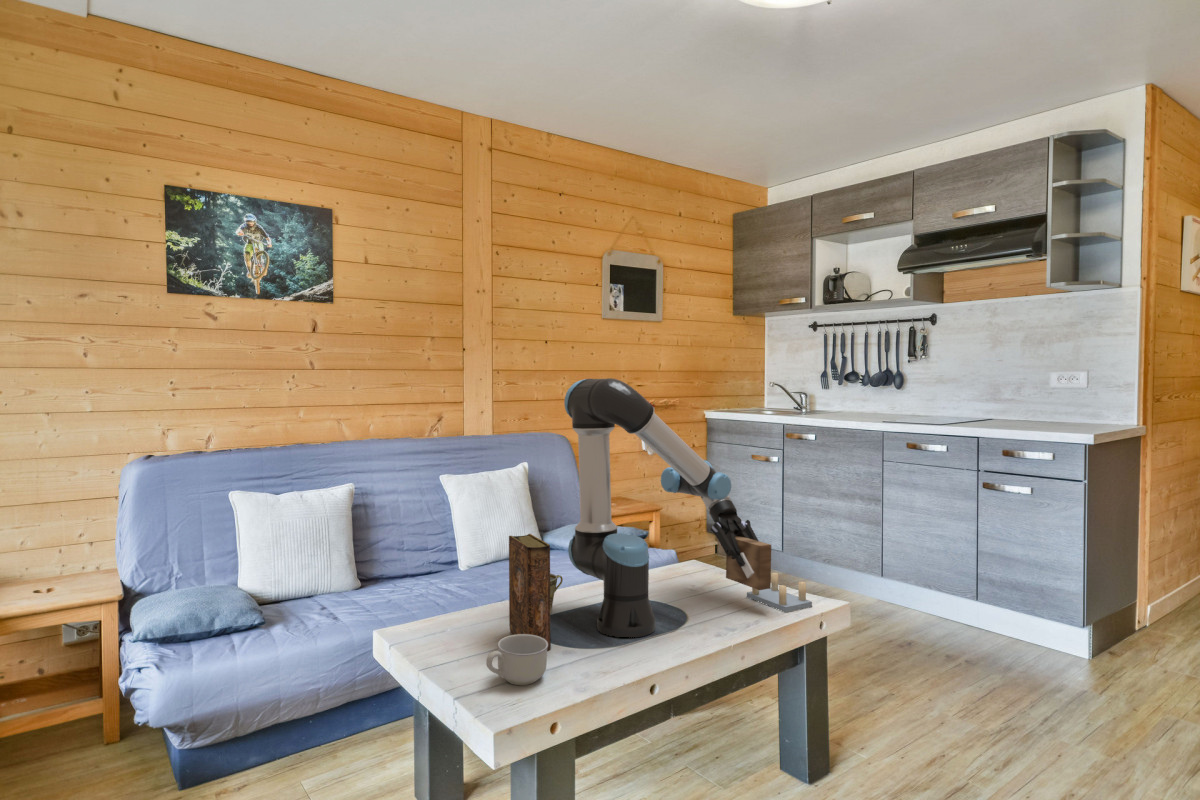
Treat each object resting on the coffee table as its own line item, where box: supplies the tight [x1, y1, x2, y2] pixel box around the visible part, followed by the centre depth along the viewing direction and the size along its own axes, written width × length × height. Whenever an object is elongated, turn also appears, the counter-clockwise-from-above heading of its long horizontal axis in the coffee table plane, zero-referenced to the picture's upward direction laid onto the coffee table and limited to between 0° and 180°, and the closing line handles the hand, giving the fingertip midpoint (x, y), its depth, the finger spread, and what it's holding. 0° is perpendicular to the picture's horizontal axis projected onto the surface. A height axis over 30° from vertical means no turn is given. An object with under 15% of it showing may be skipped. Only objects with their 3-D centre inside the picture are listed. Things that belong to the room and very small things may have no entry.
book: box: [508, 533, 552, 653], centre depth 170 cm, size 16×6×25 cm, turn 25°
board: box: [725, 536, 772, 590], centre depth 194 cm, size 14×4×12 cm, turn 29°
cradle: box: [746, 572, 813, 613], centre depth 200 cm, size 16×10×6 cm, turn 29°
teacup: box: [486, 634, 548, 686], centre depth 147 cm, size 14×11×8 cm
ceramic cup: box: [550, 572, 564, 615], centre depth 192 cm, size 13×10×10 cm
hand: (757, 574), depth 191 cm, fingers closed on board, 4 cm apart
